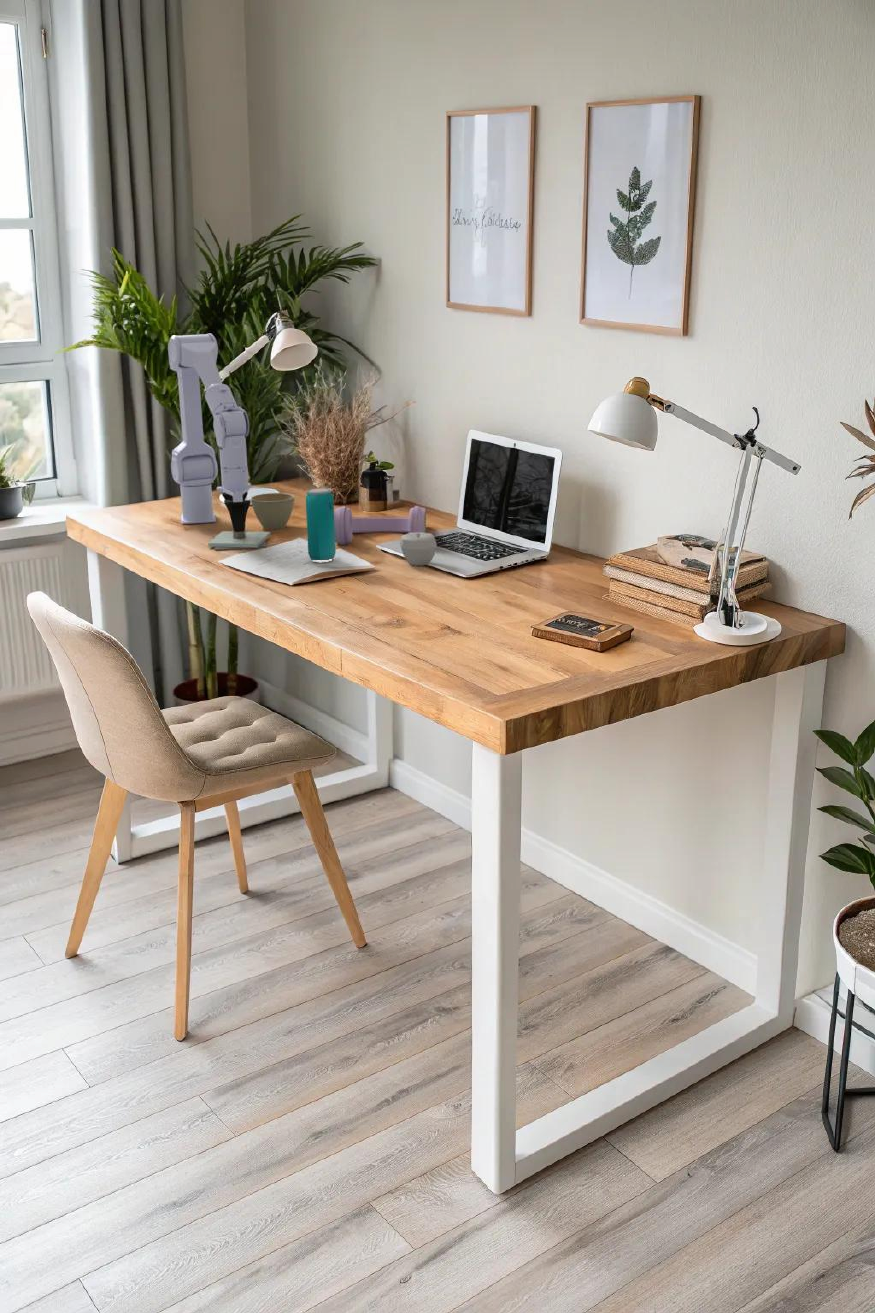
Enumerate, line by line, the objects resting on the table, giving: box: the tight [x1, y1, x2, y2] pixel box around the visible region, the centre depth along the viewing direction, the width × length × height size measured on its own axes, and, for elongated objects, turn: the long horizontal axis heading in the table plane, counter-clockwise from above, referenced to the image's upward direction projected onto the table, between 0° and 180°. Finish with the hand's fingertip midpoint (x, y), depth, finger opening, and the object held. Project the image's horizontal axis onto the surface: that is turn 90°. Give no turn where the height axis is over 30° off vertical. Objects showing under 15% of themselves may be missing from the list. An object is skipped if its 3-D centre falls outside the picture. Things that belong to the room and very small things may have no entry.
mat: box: [212, 535, 267, 552], centre depth 277 cm, size 12×11×1 cm
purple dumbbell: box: [334, 505, 427, 546], centre depth 279 cm, size 20×10×20 cm
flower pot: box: [250, 492, 295, 530], centre depth 290 cm, size 10×10×7 cm
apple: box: [399, 532, 438, 567], centre depth 257 cm, size 8×8×7 cm
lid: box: [207, 524, 271, 549], centre depth 276 cm, size 11×11×5 cm
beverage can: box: [305, 486, 337, 560], centre depth 259 cm, size 6×6×15 cm
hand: (238, 527), depth 276 cm, fingers open, 7 cm apart
